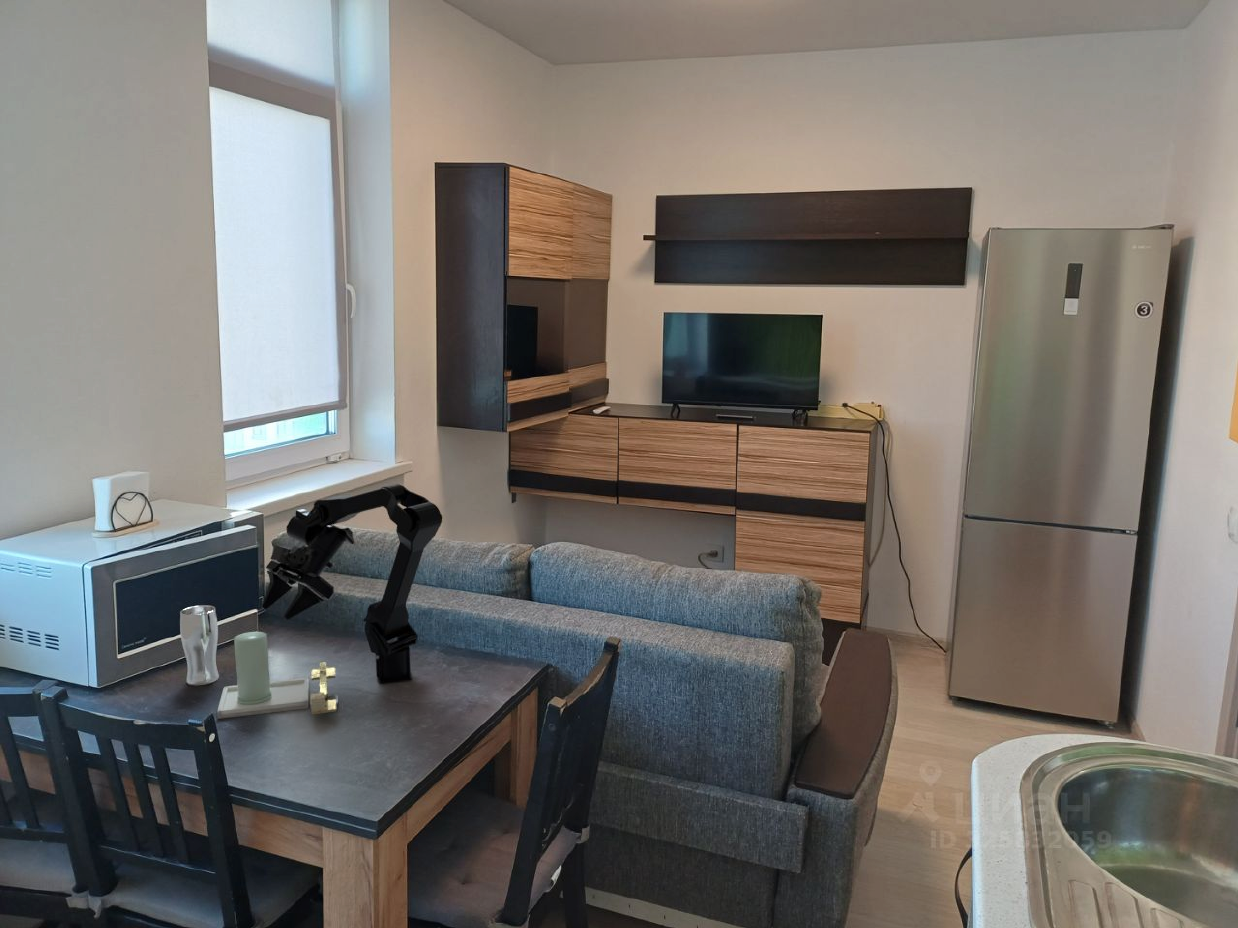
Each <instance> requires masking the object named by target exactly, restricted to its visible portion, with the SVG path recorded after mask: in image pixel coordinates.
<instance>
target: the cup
mask: <svg viewBox="0 0 1238 928" xmlns="http://www.w3.org/2000/svg"><path fill="white" fill-rule="evenodd" d="M267 635H268V634H267V633H266V632H263V631H250V632H249V631H248V632H243V633H241V634H238V635H235V636H234V654H235V668H236V685H237V686H238V697H237V702H238V703H240V704H243V705H255V704H260V703H263V702H266V701H268V700H269V699H270V698H271V696H272V695H271V691H270V682H271V680H270V668H269V667H270V666H269V653H268V652H269V651H268V636H267Z"/></svg>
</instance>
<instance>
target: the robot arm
mask: <svg viewBox="0 0 1238 928" xmlns="http://www.w3.org/2000/svg"><path fill="white" fill-rule="evenodd" d="M399 504H400V505H401V506H402V507H404V508H402V507H401V506H400V505H399ZM382 507H383V508H384V509H386V512H387V516H388V518H389V519H390V521H392V522H393V523H394V525H396V529H395V530H396V534H397V537H398V538H397V539H398V540H399V542H398V543H399V544H398V547H397V550H396V554H395V557H394V559H393V563H392V567H391V569H390V573H389V576H388V578H387V579H388V580H387V583H386V585H385V588H384V593H383V596H382V598H381V600H379V601H378V602H377V601H376V602H373V603H371V604H369V605H368V607H367V612H366V616H365V617H364V618H363V622H365V623H364V633H365V636H366V640H367V643H368V646H369V650H370V652H371V654H372V653H373V654H374V657H375V673H376V678H377V679H378V680H379V683H380V684H386V683H397V682H404V681H412V679H413V675H412V671H411V646H413V645H416V644H417V642H418V638H419V635H418V634H417V633H416V631H415V629H414V628H413V627H412V626H411V624H410V622H409V618H410V614H409V611H408V608H407V601H408V598H409V595H410V593H411V590H412V587H413V583H414V581H415V577H416V573H417V571H418V568H419V565H420V561H421V559H422V556H423V552H424V549H425V547H427V545H428V544H429V543H430V542H431V541H432V540H433V539H434V537H436V535H437V533H438V531H439V529H440V527H441V526H442V523H443V515H442V513H441V510H440V509H439V506H437V504H435V503H434V502H431V501H430V500H428V499H427V498H426V497H424V496H422V495H420V494H418V493H415V492H413V491H410V489H408V488H407V487H405V486H404V485H403V484H399V483H394V484H390V485H386V486H383V487H381V488H379V489H375V490H371V491H367V492H364V493H363V492H362V493H361V494H357V495H351V494H347V495H346V494H345V495H344V494H343V495H336V496H335V495H334V496H331V497H327V498H322V499H318V500H316V501H314V503H313V507H312V509H311V510H310V511H308V510H306V509H304V508H301V509H297V510H295V515H294V516H292V518H291V519H290V520H289V521H288V524H287V525H286V533H287V535H288V537H289V538H292V539H293V540H296V541H298V542H299V543H302V544H304V545H301V546H300V547H299V546H296V545H295V546H293V547H291V548H289V547H287V546H283V545H280V544H275V545H274V548H273V551H272V554H271V556H270V561H269V563H268V564H267V565H266V566H265V569H267V571H266V574H267V575H268V578H269V584H268V587H267V590H266V593H265V595H264V598H263V601H262V604H261V608H262V609H264V610H267V609H269V608H270V607H271V606H273V605H274V604H275V603H276V602H278V601H279V600H280V599H281V598H282V597H283V596H285V595H286V594H287V593H288V592H289V591H290V590H291V589H293V585H295V584H296V583H297V594H296V595H295V597H294V598H293V600H292V602H291V604H290V605H289V607H288V608H287V609H286V611H285V614H284V615H283V618H284V619H285V620H287V621H289V620H290V619H292V618H293V617H295V616H297V615H299V614H300V613H302V612H304V611H306V610H308V609H310V608H311V607H314V606H316V605H319V603H324V602H325V600H326V601H330V600H331V598H332V597H333V595H334V594H335V586H333V584H330V582H328V581H327V580H326V579H324V578H323V577H322V576H321V575H322V573H323V572H324V571H325V569H326V568H327V569H330V570H331V568H332V567H333V563H331V561H332V560H333V559H334V557H335V556H336V555H337V553H338V552H339V551H340V549H341V548H342V546H343V545H344V543H345V542H346V543H348V544H351V545H353V544H355V538H354V532H353V531H352V529H350V528H349V527H344V528H342V527H341V528H340V527H338V526H336V524H340V523H345V522H347V521H349V520H351V519H353V518H355V517H356V516H357V515H358V514H361V513H363V512H367V511H371V510H375V509H378V508H379V509H380V508H382ZM305 545H306V546H305Z"/></svg>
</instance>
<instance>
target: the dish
mask: <svg viewBox="0 0 1238 928" xmlns="http://www.w3.org/2000/svg"><path fill="white" fill-rule="evenodd" d="M270 691H271V695H272V696H271V698H270V699H269V700H268V701H266V702H263V703H260V704H255V705H243V704H240V703H238V702H237V697H238V686H237V684H236V685H229V686H228V685H227V686H224V687H223V690H222V693H221V697H220V700H219V703H218V708H217V720H219V719H227V718H228V719H229V718H236V717H237V718H238V717H246V716H253V715H262V714H270V713H271V714H272V713H277V712H278V713H279V712H285V711H286V712H287V711H297V710H302V709H303V710H305V709H308V708H309V701H310V700H309V698H310V677H301V678H291V679H290V678H289V679H284V680H283V679H281V680H272V681H270Z"/></svg>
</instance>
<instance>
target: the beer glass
mask: <svg viewBox="0 0 1238 928" xmlns="http://www.w3.org/2000/svg"><path fill="white" fill-rule="evenodd" d="M179 614H180V617H179V618H180V619H179V626H180V627H179V630H180V640H181V645H182V648H183V651H184V652H183V653H184V656H185V660H186V663H187V664H186V665H187V671H186V672H187V673H186V683H187V684H188V685H190V686H205V685H210V684H212V683H215V682H217V681H218V680H219V678H220V675H219V672H218V668H217V663H216V662H217V661H216V657H217V648H218V640H219V639H218V638H219V630H218V629H219V627H218V626H219V625H218V618H217V613H216V607H215V606H213V605H206V604H205V605H204V604H201V605H194V606H189V607H186V608H184V609H181V610H180V611H179Z"/></svg>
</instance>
